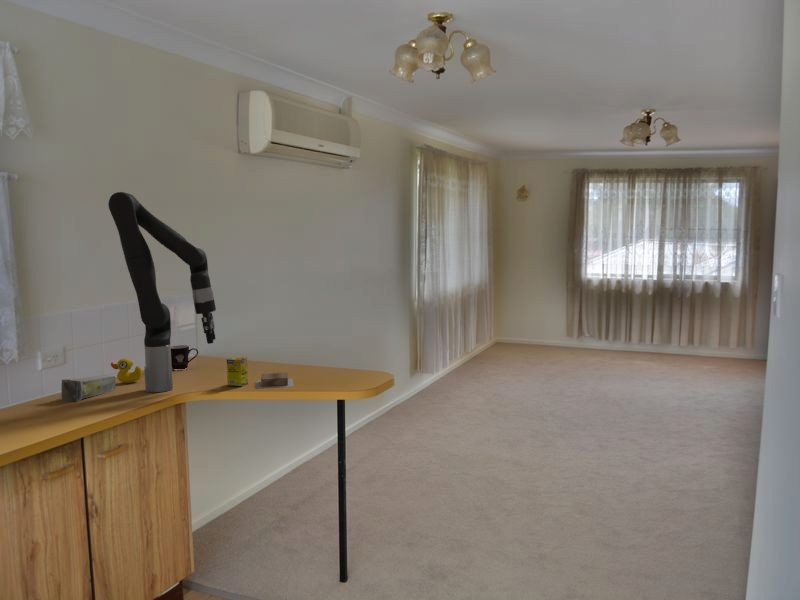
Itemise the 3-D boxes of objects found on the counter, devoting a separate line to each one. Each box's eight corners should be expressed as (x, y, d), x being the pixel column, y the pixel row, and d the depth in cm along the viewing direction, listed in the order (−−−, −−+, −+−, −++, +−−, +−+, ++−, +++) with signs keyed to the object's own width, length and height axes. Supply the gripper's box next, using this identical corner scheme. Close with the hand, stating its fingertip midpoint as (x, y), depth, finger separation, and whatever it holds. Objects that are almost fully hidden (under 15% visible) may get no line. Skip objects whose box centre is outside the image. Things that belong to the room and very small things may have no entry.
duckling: (111, 385, 250) (109, 360, 249) (112, 382, 255) (111, 358, 254) (142, 383, 254) (140, 358, 253) (143, 380, 259) (141, 356, 258)
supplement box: (241, 387, 243) (240, 359, 242) (227, 387, 244) (226, 359, 243) (248, 384, 249) (247, 356, 247) (234, 383, 250) (233, 356, 249)
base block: (261, 387, 242) (261, 379, 242) (262, 381, 252) (261, 373, 251) (287, 385, 244) (287, 377, 244) (287, 379, 254) (287, 372, 253)
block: (104, 389, 246) (103, 369, 245) (120, 391, 242) (118, 370, 242) (61, 400, 229) (59, 379, 228) (77, 402, 225) (75, 381, 224)
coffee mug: (166, 371, 277) (165, 348, 276) (174, 367, 285) (173, 345, 284) (192, 371, 276) (191, 348, 275) (199, 367, 285) (198, 345, 284)
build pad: (255, 389, 240) (255, 388, 240) (257, 381, 253) (257, 380, 253) (293, 387, 242) (293, 386, 242) (292, 379, 256) (292, 378, 256)
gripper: (196, 300, 248) (203, 340, 250) (191, 303, 234) (199, 346, 236) (215, 296, 249) (223, 337, 251) (212, 300, 235) (220, 342, 237)
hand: (211, 341), depth 244 cm, fingers open, 8 cm apart
